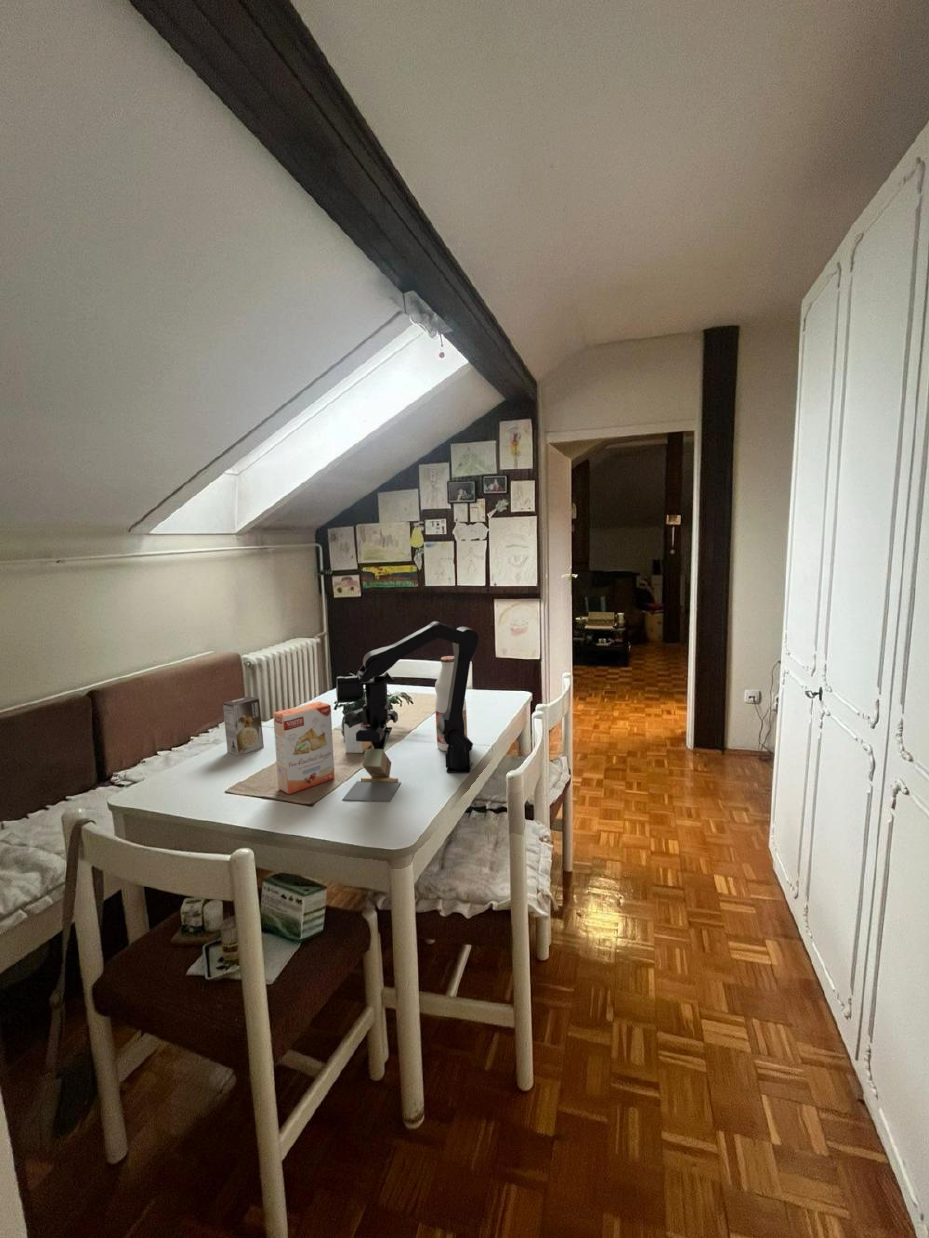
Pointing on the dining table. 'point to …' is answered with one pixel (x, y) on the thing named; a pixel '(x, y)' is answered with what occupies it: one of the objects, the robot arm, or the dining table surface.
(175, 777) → the dining table surface
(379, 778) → the kerb
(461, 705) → the robot arm
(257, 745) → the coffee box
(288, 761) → the cracker box
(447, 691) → the fruit juice
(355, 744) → the small box
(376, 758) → the walnut block
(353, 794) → the mat
